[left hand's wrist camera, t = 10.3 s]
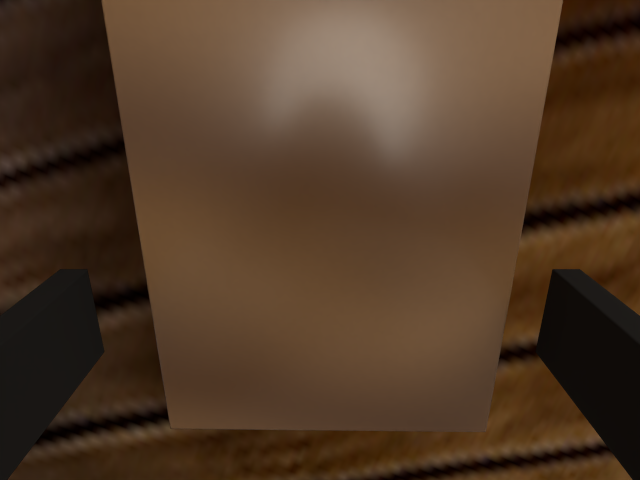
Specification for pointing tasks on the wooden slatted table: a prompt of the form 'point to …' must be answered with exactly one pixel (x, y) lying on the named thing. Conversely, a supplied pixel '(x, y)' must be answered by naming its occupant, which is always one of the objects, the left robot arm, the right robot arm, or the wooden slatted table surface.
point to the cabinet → (330, 201)
